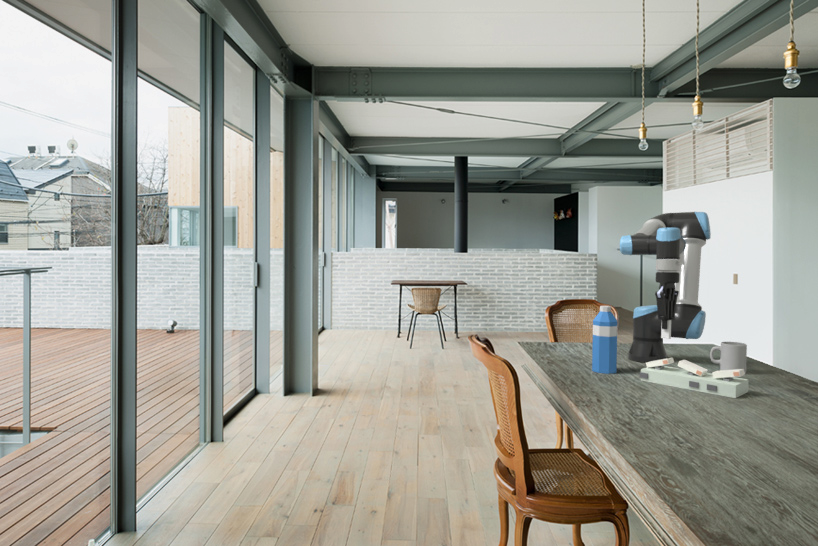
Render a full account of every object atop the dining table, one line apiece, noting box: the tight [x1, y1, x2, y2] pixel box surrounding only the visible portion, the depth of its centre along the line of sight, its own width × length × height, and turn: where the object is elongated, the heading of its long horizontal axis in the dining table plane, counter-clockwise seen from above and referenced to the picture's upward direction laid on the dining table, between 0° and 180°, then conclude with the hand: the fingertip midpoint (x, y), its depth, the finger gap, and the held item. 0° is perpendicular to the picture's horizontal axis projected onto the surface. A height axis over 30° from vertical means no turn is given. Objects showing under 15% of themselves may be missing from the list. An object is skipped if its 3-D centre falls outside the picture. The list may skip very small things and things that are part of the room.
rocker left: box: [645, 357, 675, 368], centre depth 186 cm, size 8×5×2 cm, turn 40°
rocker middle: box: [677, 359, 709, 376], centre depth 177 cm, size 8×5×2 cm, turn 41°
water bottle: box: [591, 305, 618, 375], centre depth 199 cm, size 9×9×25 cm
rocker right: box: [711, 369, 746, 378], centre depth 169 cm, size 8×5×2 cm, turn 40°
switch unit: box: [639, 365, 749, 399], centre depth 177 cm, size 30×12×5 cm, turn 41°
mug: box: [709, 341, 748, 375], centre depth 199 cm, size 12×8×11 cm
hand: (665, 338), depth 183 cm, fingers closed
